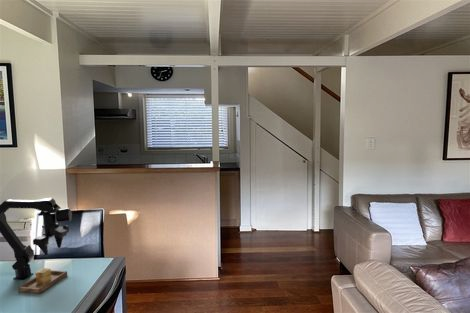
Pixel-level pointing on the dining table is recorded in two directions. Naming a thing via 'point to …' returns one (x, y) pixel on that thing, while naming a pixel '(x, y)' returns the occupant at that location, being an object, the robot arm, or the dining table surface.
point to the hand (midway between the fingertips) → (53, 251)
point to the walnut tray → (39, 288)
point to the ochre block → (43, 276)
